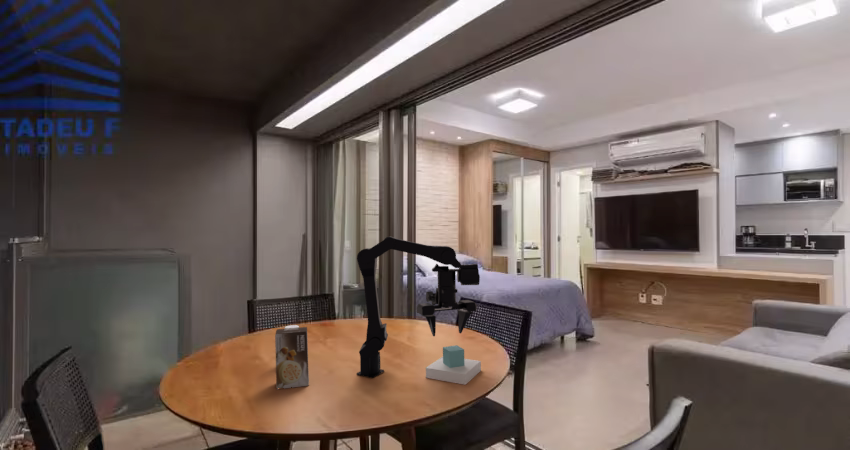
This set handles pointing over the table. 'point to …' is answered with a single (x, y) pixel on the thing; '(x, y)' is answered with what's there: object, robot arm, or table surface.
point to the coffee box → (291, 357)
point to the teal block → (453, 356)
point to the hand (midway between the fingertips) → (447, 334)
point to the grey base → (453, 371)
